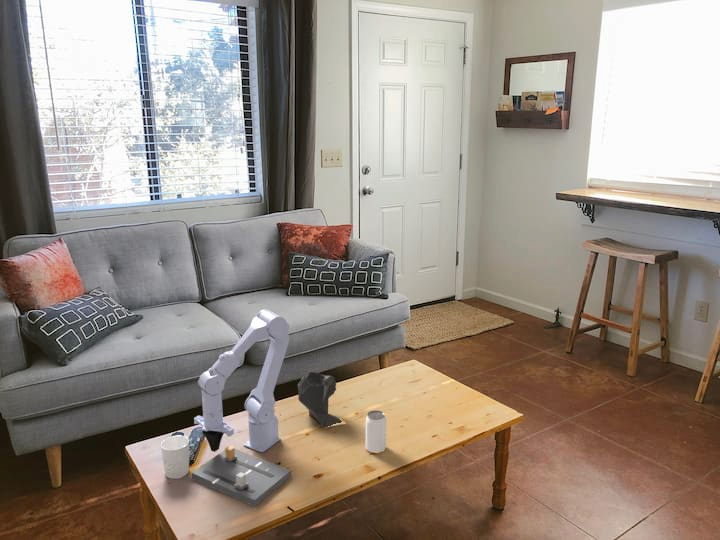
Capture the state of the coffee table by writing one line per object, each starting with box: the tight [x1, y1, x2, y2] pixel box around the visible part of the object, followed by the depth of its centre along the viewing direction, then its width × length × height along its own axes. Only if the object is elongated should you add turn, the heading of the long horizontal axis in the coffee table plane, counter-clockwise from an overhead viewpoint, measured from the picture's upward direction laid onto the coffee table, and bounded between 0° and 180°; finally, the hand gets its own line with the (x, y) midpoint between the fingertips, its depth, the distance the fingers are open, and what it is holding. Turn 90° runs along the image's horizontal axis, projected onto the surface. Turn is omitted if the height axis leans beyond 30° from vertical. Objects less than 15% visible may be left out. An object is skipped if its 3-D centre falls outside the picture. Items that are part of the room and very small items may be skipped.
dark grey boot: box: [297, 369, 342, 429], centre depth 205 cm, size 14×15×18 cm
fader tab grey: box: [234, 472, 249, 490], centre depth 165 cm, size 3×3×4 cm
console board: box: [190, 448, 292, 507], centre depth 173 cm, size 16×24×2 cm
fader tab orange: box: [223, 445, 237, 462], centre depth 178 cm, size 3×3×4 cm
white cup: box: [160, 434, 190, 480], centre depth 174 cm, size 8×8×10 cm
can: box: [365, 410, 387, 453], centre depth 187 cm, size 6×6×12 cm
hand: (215, 449), depth 181 cm, fingers closed
